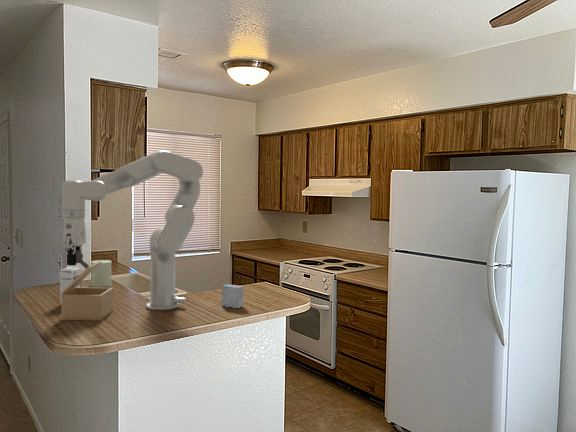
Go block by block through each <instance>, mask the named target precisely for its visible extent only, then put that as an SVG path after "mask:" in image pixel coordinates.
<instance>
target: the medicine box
mask: <svg viewBox="0 0 576 432" xmlns="http://www.w3.org/2000/svg"><path fill="white" fill-rule="evenodd" d="M244 288H245V287H244V286H243V285H238V284H237V285H236V284H228V283H227V284H224V285H222V287H221V307H222V306H225V307H224V308H228V307H233V308H232V309H235V308H240V307H242V306H243V307H244V302H245V300H244V295H245V294H244V293H245V292H244V290H245V289H244ZM243 307H242V308H243ZM240 309H241V308H240Z"/></svg>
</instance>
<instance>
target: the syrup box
mask: <svg viewBox="0 0 576 432" xmlns="http://www.w3.org/2000/svg"><path fill="white" fill-rule="evenodd" d="M81 273H82V267H78V266H77V267H76V266H72V267H66V268H61V269H59V289H60V293H61V292H62V291H63V290H64V289H65V288H66V287H67V286H69V285H70V284H71V283H72V282H73V281H74V280H75V279H76V278H77V277H78V276H79V275H80V274H81ZM76 287H82V281H81V282H80V283H79V284H78V285H77V286H76ZM69 291H70V290H69ZM67 292H68V291H67ZM60 293H59V295H60V298H59V299H60V302H59V303H60V304H61V294H60ZM65 293H66V292H65Z"/></svg>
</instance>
